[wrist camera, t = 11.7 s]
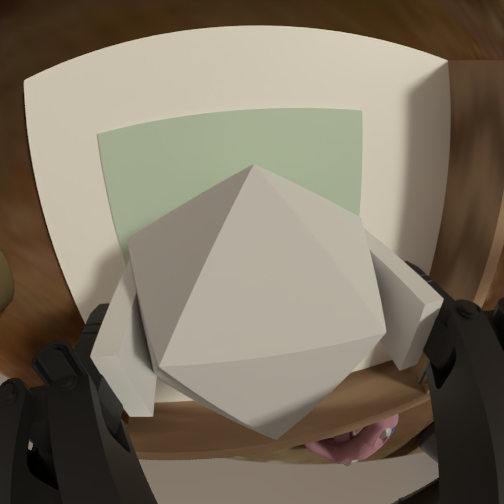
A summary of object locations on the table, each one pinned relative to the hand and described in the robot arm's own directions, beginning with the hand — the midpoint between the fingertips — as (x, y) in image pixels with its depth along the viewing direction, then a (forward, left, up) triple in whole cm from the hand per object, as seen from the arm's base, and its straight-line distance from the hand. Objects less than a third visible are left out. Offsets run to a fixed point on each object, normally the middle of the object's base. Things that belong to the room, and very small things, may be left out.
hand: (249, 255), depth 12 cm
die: (0, 0, -1) cm, 1 cm away
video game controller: (-21, -9, -3) cm, 23 cm away
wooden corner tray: (-2, -2, -2) cm, 4 cm away
